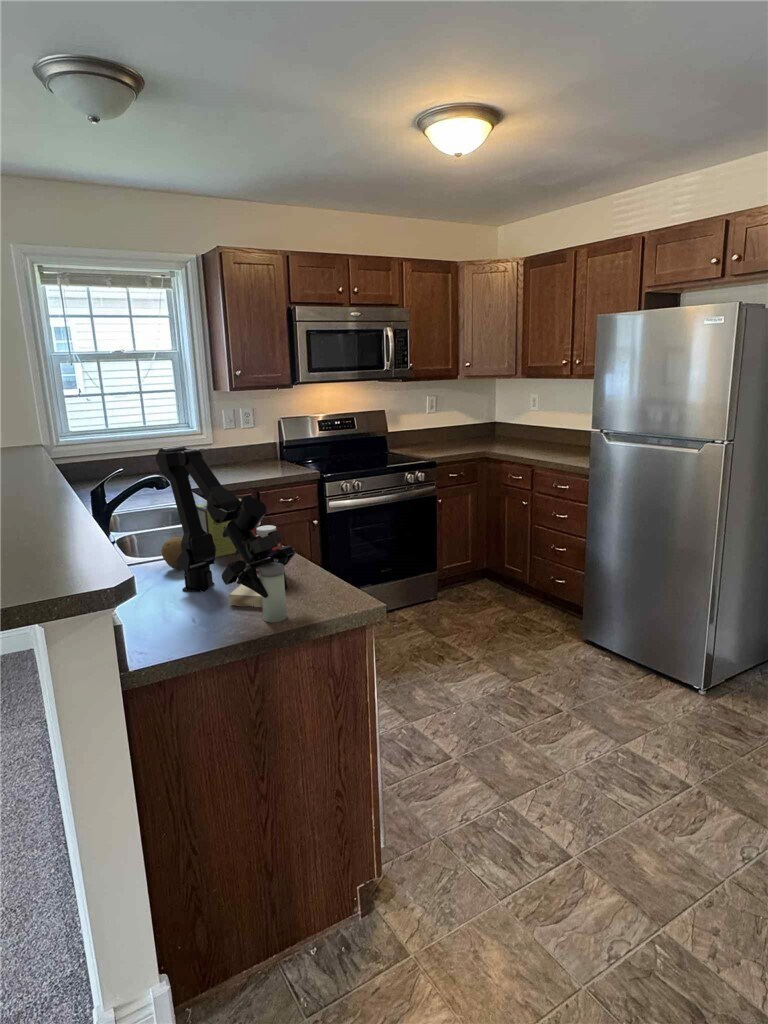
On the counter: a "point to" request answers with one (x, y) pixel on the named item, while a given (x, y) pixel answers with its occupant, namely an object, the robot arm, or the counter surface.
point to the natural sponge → (172, 551)
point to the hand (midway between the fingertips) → (276, 593)
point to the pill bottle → (264, 531)
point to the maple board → (245, 597)
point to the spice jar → (273, 592)
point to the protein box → (216, 532)
